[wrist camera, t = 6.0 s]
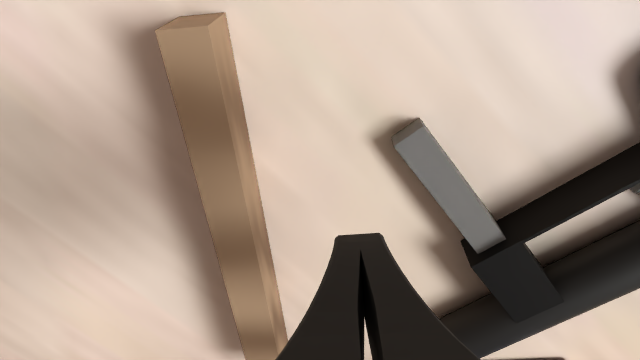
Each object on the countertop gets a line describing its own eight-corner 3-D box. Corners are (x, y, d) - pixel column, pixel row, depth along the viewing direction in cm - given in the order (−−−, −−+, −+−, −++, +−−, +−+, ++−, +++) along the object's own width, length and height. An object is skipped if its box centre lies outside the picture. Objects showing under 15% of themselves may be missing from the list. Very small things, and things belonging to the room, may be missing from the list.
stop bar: (289, 349, 29) (285, 390, 26) (261, 350, 29) (254, 391, 27) (225, 12, 18) (207, 25, 15) (179, 16, 18) (154, 30, 16)
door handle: (297, 218, 21) (463, 391, 26) (738, -77, 14) (842, 233, 20) (303, 186, 24) (451, 348, 29) (672, -71, 17) (778, 198, 23)
